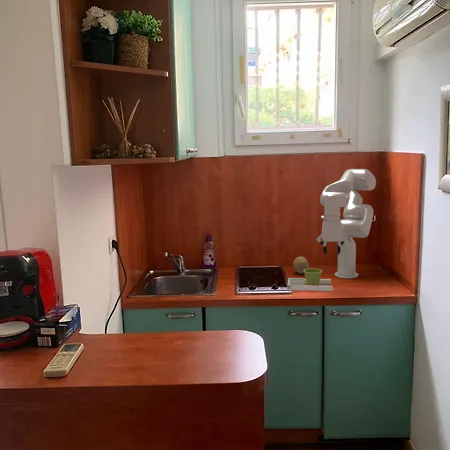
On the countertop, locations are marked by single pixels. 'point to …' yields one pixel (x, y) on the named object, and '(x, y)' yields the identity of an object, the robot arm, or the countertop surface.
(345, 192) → the robot arm
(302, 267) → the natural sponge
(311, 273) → the plant pot
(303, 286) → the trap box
